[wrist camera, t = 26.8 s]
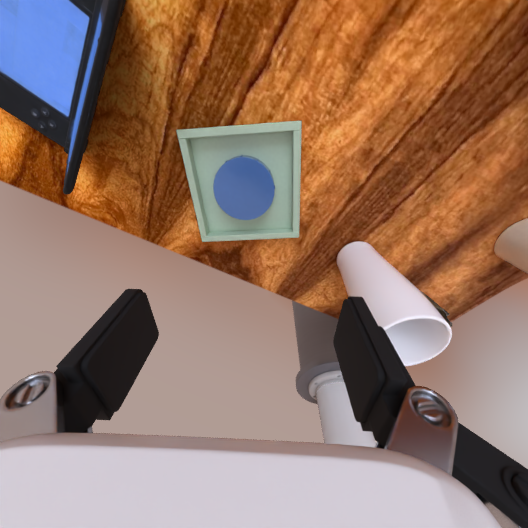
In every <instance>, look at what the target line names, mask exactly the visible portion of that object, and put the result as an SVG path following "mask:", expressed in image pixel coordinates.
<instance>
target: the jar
mask: <svg viewBox="0 0 528 528" xmlns="http://www.w3.org/2000/svg"><path fill="white" fill-rule="evenodd" d="M494 251H495V254H496V255H497V256H498V257H499V258H501V259H503V260H504V261H506V262H508V263H509V264H511V265H513V266H515V267H516V268H518V269H520V270H521V271H523V272H525V273H527V274H528V218H527V219H524V220H521V221H519V222H517V223H515V224H513V225H511V226H510V227H508V228H507V229H506V230H505V231H504V232H503V233H502V234H501V235H500V236H499V237H498V239H497V241H496V243H495V246H494Z"/></svg>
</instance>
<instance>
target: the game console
mask: <svg viewBox="0 0 528 528" xmlns="http://www.w3.org/2000/svg"><path fill="white" fill-rule="evenodd" d="M125 2H126V0H0V107H1V108H2V109H4V110H5V111H7V112H9V113H10V114H12V115H13V116H15V117H17V118H18V119H20V120H21V121H23V122H24V123H26V124H28V125H29V126H31V127H32V128H34V129H36V130H37V131H39V132H40V133H42V134H43V135H45V136H47V137H48V138H50V139H51V140H53V141H55V142H56V143H58V144H59V145H61V146H63V147H64V151H65V152H66V153H67V154H68V158H67V166H66V173H65V180H64V188H63V192H64V194H70V193H71V192H72V191H73V189H74V186H75V183H76V179H77V175H78V172H79V168H80V164H81V161H82V157H83V154H84V152H85V151H86V148H87V144H88V136H89V132H90V128H91V124H92V120H93V117H94V113H95V109H96V105H97V100H98V96H99V92H100V88H101V85H102V81H103V77H104V73H105V69H106V66H107V64H108V61H109V57H110V53H111V49H112V46H113V42H114V38H115V34H116V30H117V27H118V23H119V19H120V17H121V16H122V13H123V10H124V6H125Z"/></svg>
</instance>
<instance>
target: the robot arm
mask: <svg viewBox="0 0 528 528" xmlns="http://www.w3.org/2000/svg"><path fill="white" fill-rule="evenodd" d="M158 335H159V332H158V329H157V326H156V323H155V320H154V316H153V313H152V310H151V307H150V304H149V301H148V298H147V295H146V293H144V292H143V291H142V290H141V289H127V290H125V291H124V293H122V295H121V296H120V297H119V298H118V299H117V300H116V301H115V302H114V303H113V304H112V306H111V307H110V308H109V309H108V310H107V311H106V312H105V313H104V314H103V316H102V317H101V318H100V319H99V320H98V321H97V322H96V323H95V324H94V325H93V327H92V328H91V329H90V330H89V331H88V332H87V333H86V334H85V335H84V336H83V338H82V339H81V340H80V341H79V342H78V343H77V344H76V345H75V346H74V348H73V349H72V350H71V351H70V352H69V353H68V354H67V355H66V357H64V359H63V360H62V361H61V362H60V363H59V364H58V365H57V368H58V369H57V370H56V371H55V372H54V373H52V372H50V371H42V372H37V373H34V374H31V375H29V376H27V377H25V378H23V379H21V380H20V381H18V382H17V383H15V384H14V385H13V386H12V387H11V388H9V389H8V390H7V391H6V392H5V394H4V395H3V396H2V397H1V399H0V528H528V469H526V468H525V467H523V466H522V465H521V464H519V463H518V462H516V461H514V460H513V459H511V458H510V457H509V456H507V455H506V454H504V453H503V452H501V451H500V450H498V449H497V448H495V447H494V446H492V445H491V444H489V443H488V442H487V441H485V440H483V439H482V438H481V437H479V436H478V435H476V434H475V433H473V432H472V431H470V430H469V429H467V428H466V427H464V426H463V425H461V424H460V423H458V417H457V415H456V413H455V411H454V409H453V408H452V406H451V405H450V404H449V402H448V401H447V400H445V399H444V398H443V397H442V396H441V395H439V394H438V393H437V392H435V391H433V390H431V389H429V388H426V387H422V386H415V384H414V382H413V380H412V378H411V377H410V375H409V373H408V371H407V370H406V368H405V366H404V364H403V362H402V361H401V359H400V357H399V355H398V353H397V352H396V350H395V348H394V346H393V344H392V343H391V341H390V339H389V337H388V335H387V334H386V332H385V330H384V329H383V328H382V327H381V326H378V324H377V323H376V321H375V319H374V317H373V315H372V313H371V311H370V310H369V308H368V306H367V304H366V302H365V300H364V299H363V297H357V296H349V297H348V299H345V300H344V301H343V305H342V309H341V313H340V316H339V320H338V324H337V328H336V332H335V335H334V347H335V351H336V354H337V358H338V361H339V365H340V368H341V370H336V371H329V372H325V373H322V374H320V375H318V376H316V377H315V378H313V379H312V380H311V382H310V383H309V386H308V388H309V394H310V395H311V397H312V398H313V399H315V400H317V402H318V408H319V414H320V420H321V426H322V432H323V438H324V443H309V442H289V441H270V440H248V439H227V438H206V437H181V436H158V435H133V434H132V435H131V434H108V433H107V434H106V433H93V432H92V425H93V423H94V422H95V420H96V419H97V420H110V419H111V417H112V415H113V413H114V412H116V411H118V410H119V408H120V407H121V405H122V403H123V401H124V399H125V398H126V396H127V394H128V392H129V390H130V389H131V387H132V385H133V383H134V381H135V379H136V377H137V376H138V374H139V372H140V370H141V368H142V367H143V365H144V363H145V361H146V359H147V357H148V356H149V354H150V352H151V350H152V348H153V346H154V345H155V343H156V341H157V339H158ZM375 440H376V441H377V443H376V442H375Z"/></svg>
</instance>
